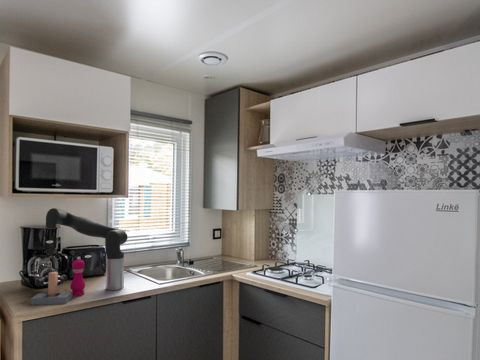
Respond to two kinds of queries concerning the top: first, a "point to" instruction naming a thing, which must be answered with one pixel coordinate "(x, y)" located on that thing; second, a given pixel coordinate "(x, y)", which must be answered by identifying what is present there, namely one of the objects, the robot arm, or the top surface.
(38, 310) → the top surface
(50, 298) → the socket block
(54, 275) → the dowel
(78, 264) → the pepper mill
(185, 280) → the top surface
